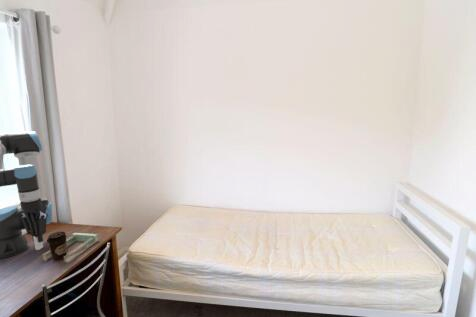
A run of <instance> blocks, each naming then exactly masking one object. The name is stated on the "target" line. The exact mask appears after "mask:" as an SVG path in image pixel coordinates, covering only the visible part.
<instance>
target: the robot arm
mask: <svg viewBox="0 0 476 317" xmlns="http://www.w3.org/2000/svg"><path fill="white" fill-rule="evenodd" d="M41 151H43V147H42V144H41V140H40V138H39V135H38V133H37V132H36V131H33V130H31V131H30V130H29V131H27V130H24V131H13V132H9V131H8V132H1V133H0V188H1V187H6V186H14V185H16V188H17V193H18V199H19V201H20V203H19V204H20V207H19V208H18V207H17V206H16V205H12V206H7V207H3V208H0V259H5V258H9V257H13V256H17V255H19V254H21V253H23V252H25V251H27V250H28V248H29V247H30V245H29V241H28V240H27V238H26V236H25V235H24V233H23V230H25V232H26V234H27V235H29V236H31V237H32V241H33V243H34V247H35V248H34V249H35V250H36V251H40V250H41V249H42V248H44V243H43V242H44V238H43V235H44V234H46V233H47V225H49V224H51V223H52V221H53V217H52V216H53V214H52V213H53V212H52V210H53V207H52V206H53V204H52V202H49V200H48V198H46V197H45V194H44V189H43V183H42V177H41V171H40V166H39V160H38V157H39V156H40V154H41ZM7 154H13V156H14V157H15V158H17V160H18V165H17V166H15V167H13V168H4V156H5V155H7Z"/></svg>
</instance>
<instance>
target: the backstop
mask: <svg viewBox="0 0 476 317" xmlns="http://www.w3.org/2000/svg"><path fill="white" fill-rule="evenodd" d="M71 236H75V238H76V241H75V242H83V243H84V242H86V241H87V240H89V239H90V238H91V237H95V243H97V242H98V241H99V240H98V239H99V238H98V234H97V233H86V232H85V233H84V232H74V233H72V234H71Z"/></svg>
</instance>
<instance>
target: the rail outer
mask: <svg viewBox="0 0 476 317" xmlns="http://www.w3.org/2000/svg"><path fill="white" fill-rule="evenodd" d="M95 243H96V242H95V237H91V238H90V239H89V240H87V241H86V242H83V243H81V244H80V245H79V246H77V247H75V249H73V250H71V251H70V252H67V253H66V254H67V255H66V256H64V259H63V262H64V263H70V262H71V261H73V260H74V259H76V257H78V256H79V255H81V254H82V253H84V251H86V250H87V249H89V248H90V247H92V246H93V245H94V244H95Z"/></svg>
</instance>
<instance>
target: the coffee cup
mask: <svg viewBox="0 0 476 317" xmlns="http://www.w3.org/2000/svg"><path fill="white" fill-rule="evenodd" d="M67 237H68V236H67V235H66V232H65V231H56V232H53V233H51V234H49V235H48V238H47V239H46V243H47V244H48V247H49V250H50V252H51V255H52V257H51V258H52V261H53V262H61V261H64V256H66V255H67V254H68V247H67V243H66V242H67V241H66V240H67Z"/></svg>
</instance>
